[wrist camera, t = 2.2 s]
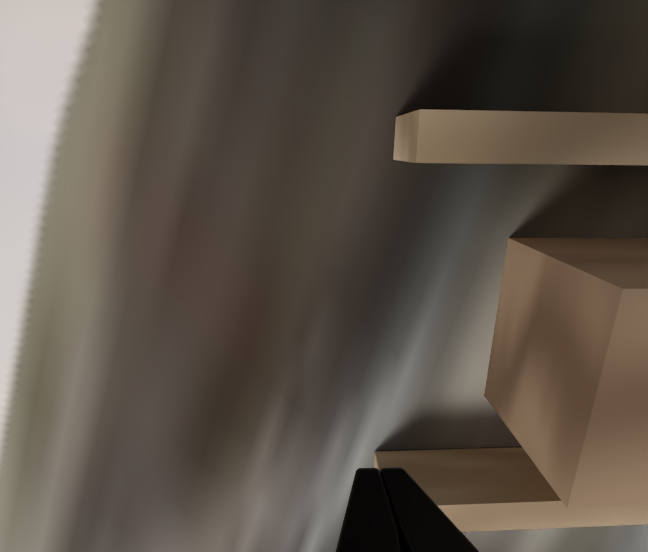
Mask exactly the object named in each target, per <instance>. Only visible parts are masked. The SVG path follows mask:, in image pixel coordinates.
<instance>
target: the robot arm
mask: <svg viewBox="0 0 648 552" xmlns="http://www.w3.org/2000/svg"><path fill="white" fill-rule="evenodd" d="M336 552H479V551H478V550H477V549H476V548H475V547H474V546H473V544H472V543H471V542H470V541H469V540H468V539H467V538H466V537H465V536H464V534H463V533H462V532H461V531H460V530H459V529H458V528H457V527H456V526H455V525H454V523H453V522H452V521H451V520H450V519H449V518H448V517H447V516H446V515H445V513H444V512H443V511H442V510H441V509H440V508H439V507H438V506H437V505H436V504H435V502H434V501H433V500H432V499H431V498H430V497H429V496H428V495H427V494H426V492H425V491H424V490H423V489H422V488H421V487H420V486H419V485H418V484H417V483H416V481H415V480H414V479H413V478H412V477H411V476H410V475H409V474H408V473H407V471H406V470H405V469H403V468H401V467H384V468H382V469H380V471H379V469H377V468H359V469H357V471H356V473H355V477H354V481H353V485H352V489H351V493H350V497H349V501H348V505H347V509H346V513H345V517H344V521H343V525H342V529H341V533H340V537H339V541H338V545H337V549H336Z"/></svg>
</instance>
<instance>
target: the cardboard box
mask: <svg viewBox="0 0 648 552" xmlns="http://www.w3.org/2000/svg"><path fill="white" fill-rule="evenodd" d="M484 396H485V397H486V398H487V400H488V401H489V402H490V404H491V405H492V407H493V408H494V409H495V411H496V412H497V413H498V415H499V416H500V417H501V419H502V420H503V422H504V423H505V424H506V426H507V427H508V428H509V430H510V431H511V432H512V434H513V435H514V437H515V438H516V439H517V441H518V442H519V443H520V445H521V446H522V447H523V449H524V450H525V452H526V453H527V454H528V456H529V457H530V458H531V460H532V461H533V462H534V464H535V465H536V467H537V468H538V469H539V471H540V472H541V473H542V475H543V476H544V477H545V479H546V480H547V481H548V483H549V484H550V486H551V487H552V488H553V490H554V491H555V492H556V494H557V495H558V496H559V498H560V499H561V501H562V502H563V503H564V505H565V506H566V507H567V508H582V507H605V506H628V505H648V237H597V238H508V244H507V251H506V257H505V264H504V270H503V277H502V283H501V290H500V297H499V303H498V310H497V316H496V323H495V329H494V336H493V342H492V349H491V355H490V362H489V368H488V375H487V381H486V388H485V394H484Z"/></svg>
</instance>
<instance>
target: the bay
mask: <svg viewBox="0 0 648 552" xmlns="http://www.w3.org/2000/svg"><path fill="white" fill-rule="evenodd" d="M393 160H399V161H406V162H413V163H472V164H564V165H648V114H645V113H591V112H536V111H482V110H427V109H420V110H416V111H413V112H410V113H407V114H404V115H400V116H397V117H396V124H395V140H394V155H393ZM384 467H401V468H403V469H405V470H406V471H407V473H408V474H409V475H410V476H411V477H412V478H413V479H414V480H415V481H416V483H417V484H418V485H419V486H420V487H421V488H422V489H423V490H424V491H425V492H426V494H427V495H428V496H429V497H430V498H431V499H432V500H433V501H434V502H435V504H436V505H437V506H438V507H439V508H440V509H441V510H442V511H443V512H444V513H445V515H446V516H447V517H448V518H449V519H450V520H451V521H452V522H453V523H454V525H455V526H456V527H457V528H458V529H459V530H460V531H461V532H472V531H496V530H521V529H545V528H569V527H593V526H617V525H642V524H648V505H628V506H605V507H582V508H567V507H566V506H565V505H564V503H563V502H562V501H561V499H560V498H559V496H558V495H557V494H556V492H555V491H554V490H553V488H552V487H551V486H550V484H549V483H548V481H547V480H546V479H545V477H544V476H543V475H542V473H541V472H540V471H539V469H538V468H537V467H536V465H535V464H534V462H533V461H532V460H531V458H530V457H529V456H528V454H527V453H526V452H525V450H524V449H523V447H514V448H480V449H446V450H412V451H379V452H375V456H374V468H377V469H379V471H380V469H382V468H384Z"/></svg>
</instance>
